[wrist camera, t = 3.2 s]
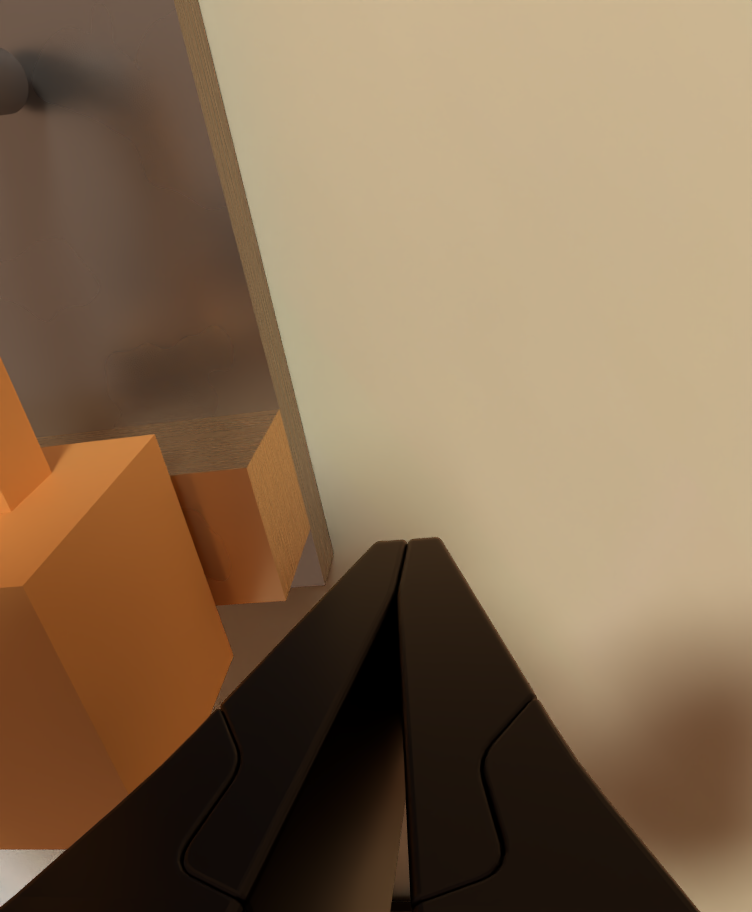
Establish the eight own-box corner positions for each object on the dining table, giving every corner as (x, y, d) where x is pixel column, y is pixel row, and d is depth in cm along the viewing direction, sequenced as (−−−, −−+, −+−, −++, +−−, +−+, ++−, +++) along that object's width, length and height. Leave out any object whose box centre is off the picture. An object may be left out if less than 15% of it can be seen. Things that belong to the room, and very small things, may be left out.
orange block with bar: (263, 581, 13) (157, 848, 8) (115, 591, 13) (-61, 849, 9) (90, 22, 9) (-297, -41, 4) (-113, 69, 9) (-645, 57, 5)
